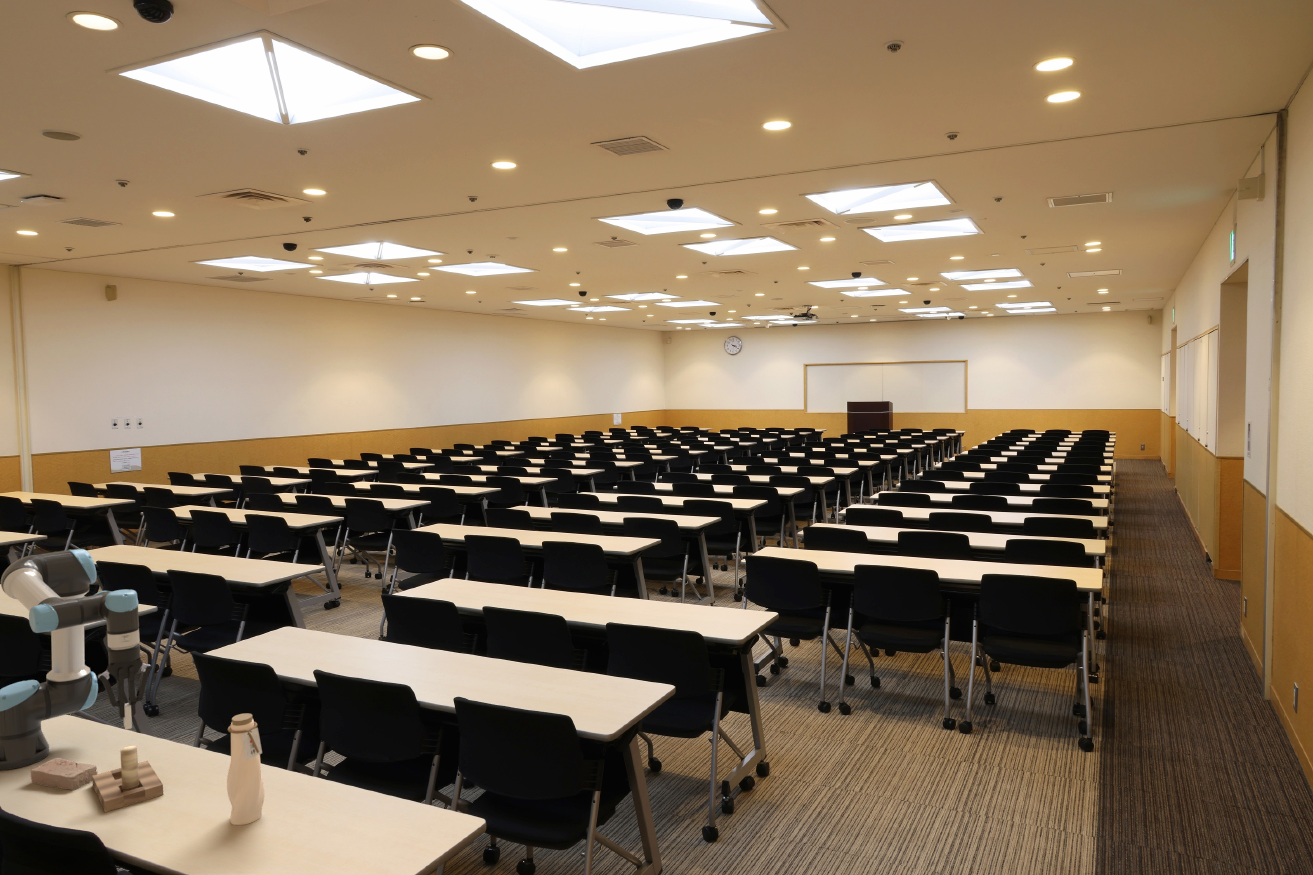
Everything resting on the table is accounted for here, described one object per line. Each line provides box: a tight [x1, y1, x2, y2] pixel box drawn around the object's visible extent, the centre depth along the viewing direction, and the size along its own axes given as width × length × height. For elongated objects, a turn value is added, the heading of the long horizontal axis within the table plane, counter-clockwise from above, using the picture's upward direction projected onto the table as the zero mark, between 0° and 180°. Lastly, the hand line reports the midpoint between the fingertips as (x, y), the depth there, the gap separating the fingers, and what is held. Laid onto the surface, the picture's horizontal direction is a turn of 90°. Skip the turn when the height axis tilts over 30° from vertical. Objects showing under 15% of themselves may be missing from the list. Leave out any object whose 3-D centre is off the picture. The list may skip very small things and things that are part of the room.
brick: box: [30, 757, 99, 791], centre depth 243 cm, size 17×8×5 cm, turn 75°
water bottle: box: [226, 713, 265, 826], centre depth 221 cm, size 10×9×28 cm
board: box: [92, 760, 164, 813], centre depth 237 cm, size 20×14×3 cm
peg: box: [119, 745, 139, 792], centre depth 233 cm, size 4×4×14 cm
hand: (127, 727), depth 232 cm, fingers closed
